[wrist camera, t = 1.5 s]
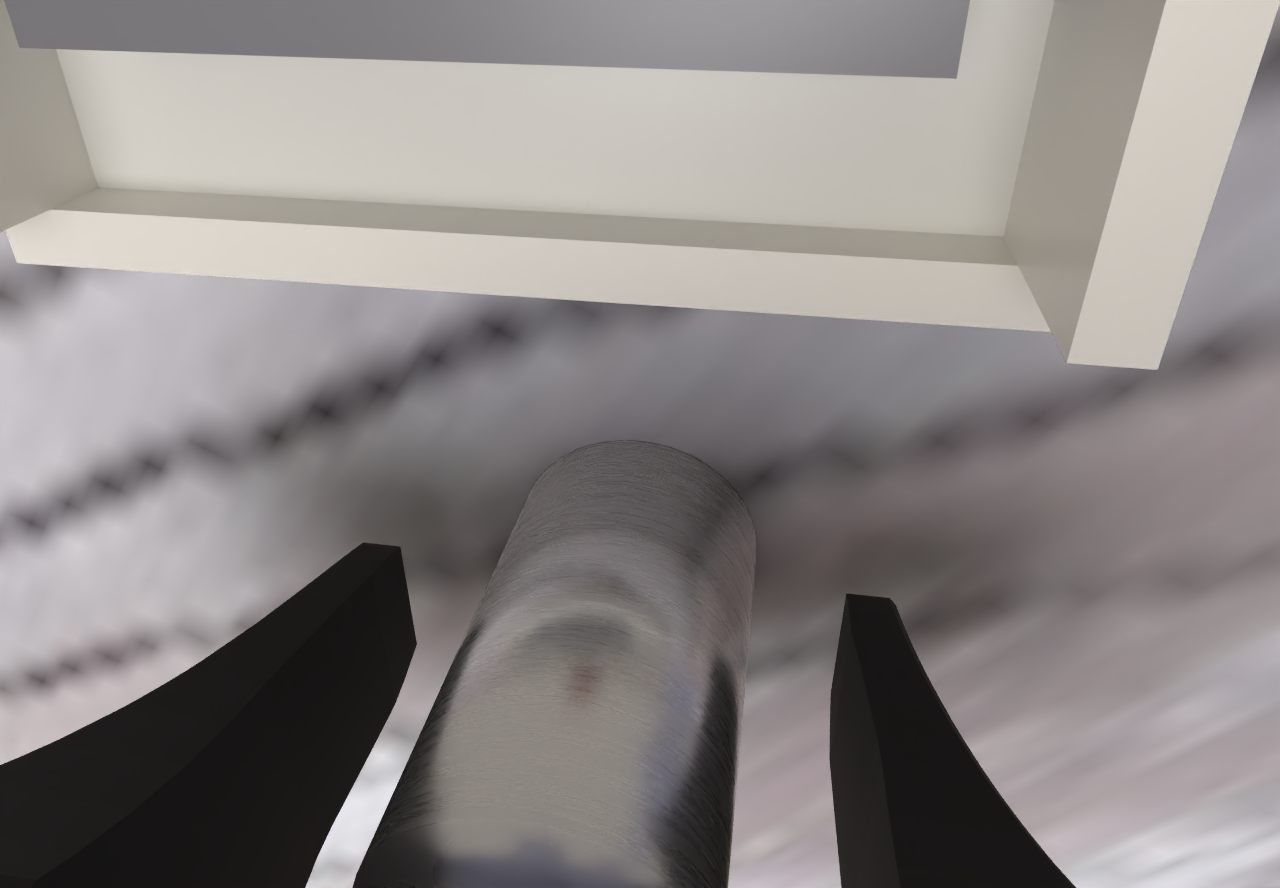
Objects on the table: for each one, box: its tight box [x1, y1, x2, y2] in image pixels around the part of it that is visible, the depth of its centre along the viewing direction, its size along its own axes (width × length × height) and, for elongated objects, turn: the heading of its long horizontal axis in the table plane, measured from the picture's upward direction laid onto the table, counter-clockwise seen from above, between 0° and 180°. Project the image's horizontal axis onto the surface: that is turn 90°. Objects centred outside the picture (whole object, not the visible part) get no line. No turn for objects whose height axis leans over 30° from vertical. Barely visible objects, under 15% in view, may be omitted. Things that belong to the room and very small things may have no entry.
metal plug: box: [353, 441, 757, 888], centre depth 13 cm, size 4×4×7 cm
